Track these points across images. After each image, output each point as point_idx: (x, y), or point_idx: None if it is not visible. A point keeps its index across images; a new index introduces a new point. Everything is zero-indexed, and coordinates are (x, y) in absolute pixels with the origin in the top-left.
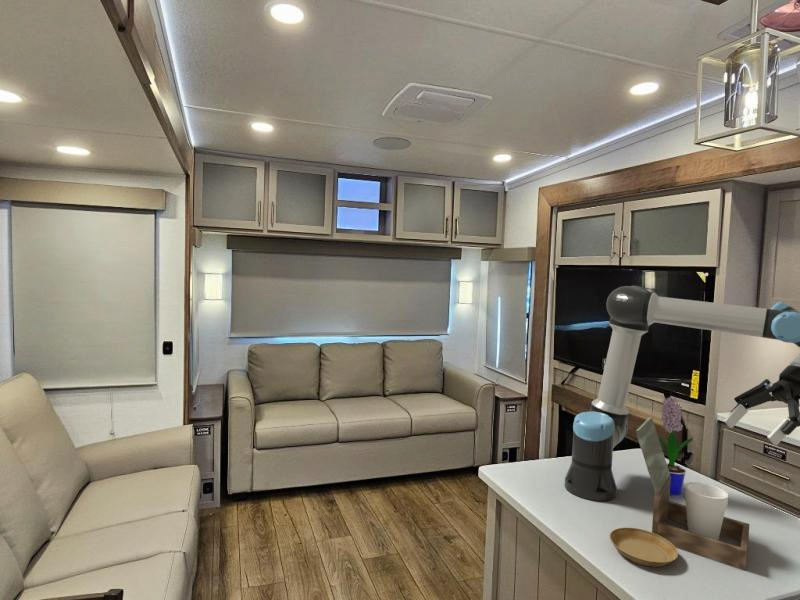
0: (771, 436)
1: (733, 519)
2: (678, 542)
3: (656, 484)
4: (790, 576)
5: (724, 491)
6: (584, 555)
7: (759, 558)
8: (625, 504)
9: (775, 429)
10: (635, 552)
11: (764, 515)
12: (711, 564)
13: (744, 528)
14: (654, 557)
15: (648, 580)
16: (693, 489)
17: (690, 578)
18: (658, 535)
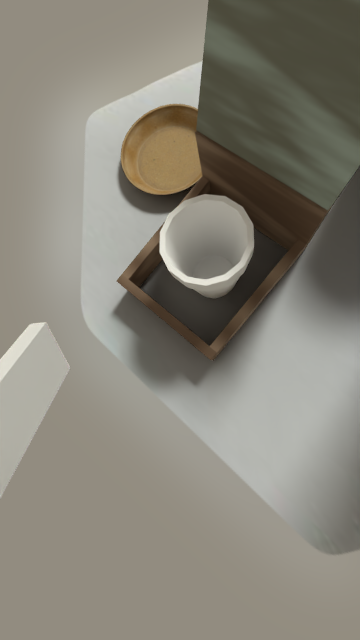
0: (23, 333)
1: (228, 338)
2: None
3: (203, 111)
4: (115, 350)
5: (200, 282)
6: (162, 78)
7: (160, 338)
8: (347, 193)
9: (2, 367)
10: (170, 148)
11: (330, 490)
12: (143, 247)
13: (192, 335)
14: (157, 170)
15: (108, 142)
16: (245, 236)
17: (112, 198)
18: (193, 183)
